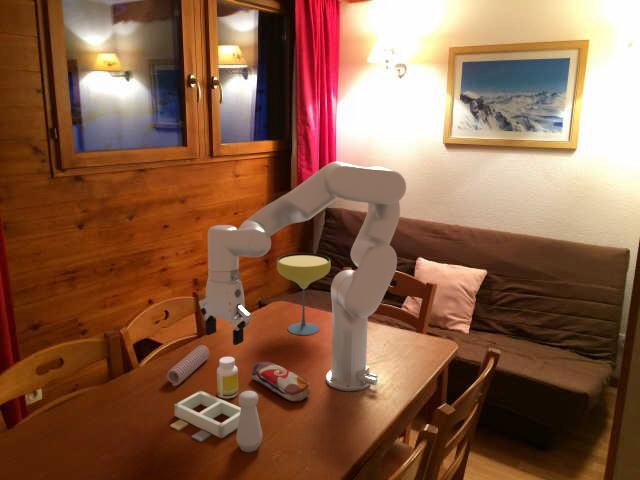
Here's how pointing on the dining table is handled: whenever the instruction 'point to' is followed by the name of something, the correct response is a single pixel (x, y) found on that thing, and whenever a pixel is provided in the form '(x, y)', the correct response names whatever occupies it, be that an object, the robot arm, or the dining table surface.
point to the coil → (188, 365)
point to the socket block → (208, 413)
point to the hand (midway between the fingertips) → (224, 338)
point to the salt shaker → (248, 422)
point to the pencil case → (281, 381)
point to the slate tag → (201, 435)
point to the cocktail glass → (303, 280)
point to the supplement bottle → (227, 378)
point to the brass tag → (179, 425)
